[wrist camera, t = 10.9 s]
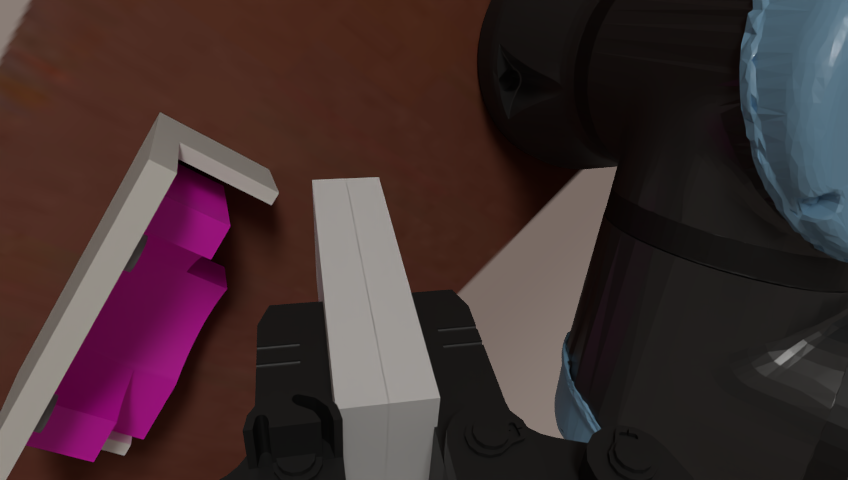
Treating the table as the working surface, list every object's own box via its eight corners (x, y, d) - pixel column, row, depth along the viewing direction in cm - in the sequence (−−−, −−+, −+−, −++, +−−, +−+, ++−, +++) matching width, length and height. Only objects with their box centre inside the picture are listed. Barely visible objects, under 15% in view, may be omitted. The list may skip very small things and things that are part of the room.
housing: (268, 169, 38) (295, 230, 29) (131, 405, 41) (113, 534, 31) (160, 112, 35) (148, 159, 26) (18, 371, 38) (-41, 503, 28)
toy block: (147, 396, 41) (139, 473, 35) (47, 365, 38) (17, 443, 32) (260, 203, 39) (275, 246, 33) (163, 155, 36) (157, 192, 30)
